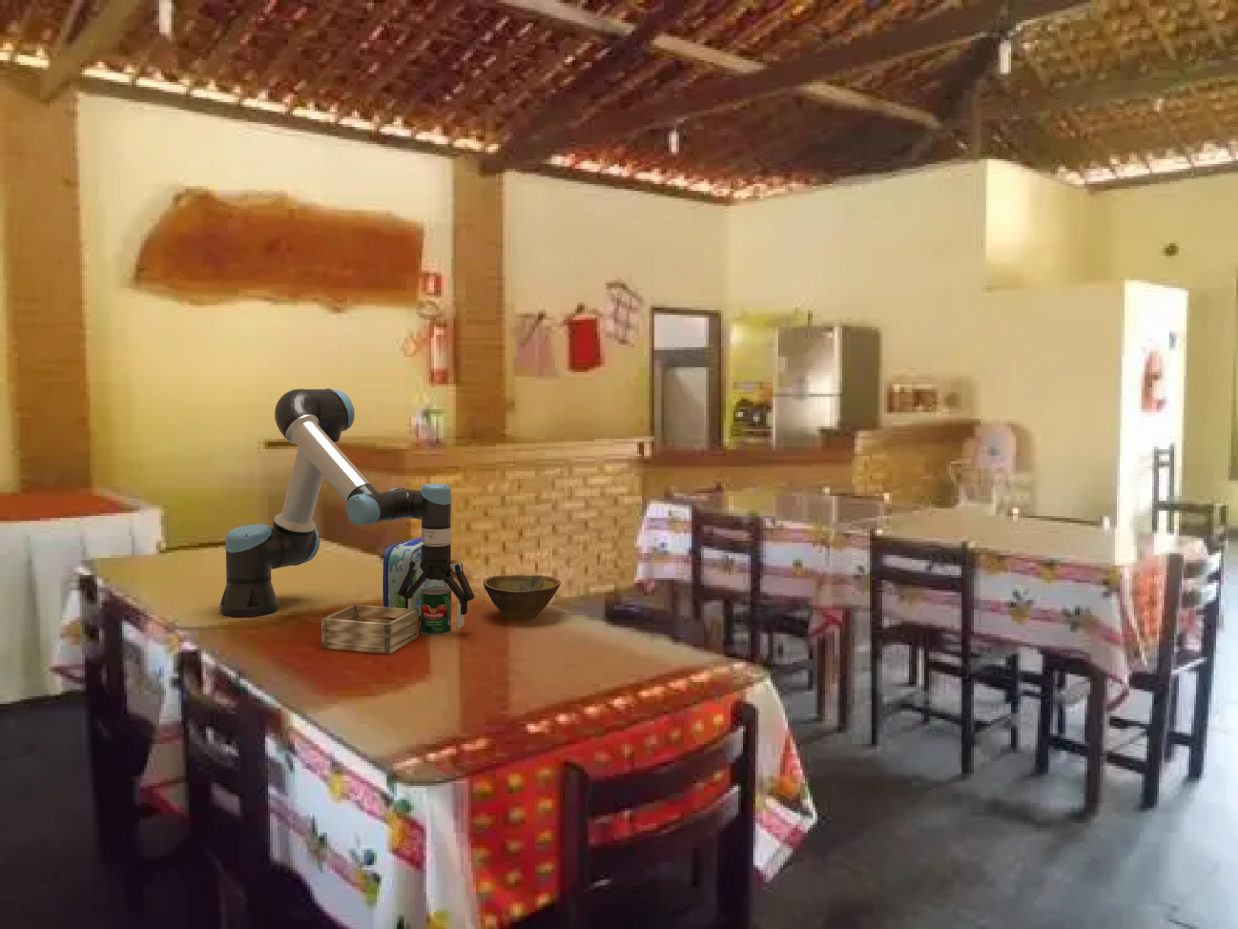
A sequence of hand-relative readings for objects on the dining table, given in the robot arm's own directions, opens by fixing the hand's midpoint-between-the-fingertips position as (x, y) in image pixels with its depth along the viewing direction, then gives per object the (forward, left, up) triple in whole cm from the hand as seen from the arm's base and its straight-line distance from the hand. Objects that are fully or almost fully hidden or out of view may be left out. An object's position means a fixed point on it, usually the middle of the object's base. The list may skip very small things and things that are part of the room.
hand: (435, 624), depth 246 cm
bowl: (+16, +22, -2) cm, 27 cm away
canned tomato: (0, 0, -2) cm, 2 cm away
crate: (-11, -14, -2) cm, 18 cm away
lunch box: (-14, +18, -2) cm, 23 cm away
